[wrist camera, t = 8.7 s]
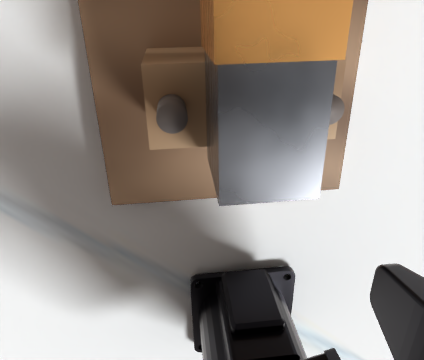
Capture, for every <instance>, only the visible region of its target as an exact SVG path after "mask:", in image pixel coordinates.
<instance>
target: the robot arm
mask: <svg viewBox="0 0 424 360" xmlns="http://www.w3.org/2000/svg"><path fill="white" fill-rule="evenodd" d="M285 274H288V275H287V276H284V275H285ZM197 282H201V283H200V284H196V283H197ZM294 283H295V273H294V271H293V269H292V268H291V267H275V268H264V269H253V270H242V271H230V272H219V273H208V274H198V275H194V276H193V277H192V278H191V280H190V285H191V301H192V318H193V334H194V348H195V350H196V351H197V352H202V355H203V360H341V359H340V357H339V355H338V354H337V352H336V350H335V348H332V349H329V350H326V351H324V353H323V354H320V355H316V356H313V357H310V358H307V356H306V354H305V351H304V349H303V346H302V343H301V341H300V338H299V336H298V333H297V330H296V328H295V325H294V323H293V320H292V317H291V310H292V301H293V292H294ZM370 302H371V305H372V308H373V310H374V313H375V315H376V317H377V320H378V322H379V325H380V327H381V329H382V332H383V334H384V336H385V339H386V341H387V344H388V346H389V348H390V351H391V353H392V355H393V358H394V360H424V277H422V276H420V275H418V274H416V273H415V272H413V271H411V270H409V269H407V268H405V267H404V266H402V265H400V264H385V265H380V266H378V267H377V268H376V271H375V275H374V279H373V283H372V288H371V292H370Z"/></svg>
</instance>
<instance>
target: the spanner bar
mask: <svg viewBox="0 0 424 360" xmlns="http://www.w3.org/2000/svg"><path fill="white" fill-rule="evenodd" d="M352 7H353V0H200V18H201V46H202V47H203V49H204V50H205V85H206V122H207V158H208V162H209V166H210V170H211V174H212V178H213V182H214V186H215V191H216V195H217V199H218V203H219V206H226V205H240V204H254V203H267V202H281V201H294V200H308V199H319V198H320V191H321V183H322V175H323V168H324V160H325V152H326V145H327V137H328V129H329V122H330V114H331V106H332V99H333V91H334V83H335V76H336V68H337V60H345V57H346V50H347V43H348V35H349V28H350V21H351V14H352Z"/></svg>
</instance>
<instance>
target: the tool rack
mask: <svg viewBox="0 0 424 360" xmlns="http://www.w3.org/2000/svg"><path fill="white" fill-rule="evenodd" d="M78 4H79V10H80V16H81V22H82V28H83V34H84V40H85V46H86V52H87V58H88V64H89V70H90V76H91V82H92V88H93V94H94V100H95V106H96V112H97V118H98V124H99V130H100V136H101V142H102V148H103V154H104V160H105V166H106V172H107V178H108V184H109V190H110V196H111V202H112V205H122V204H136V203H150V202H164V201H178V200H192V199H206V198H217V195H216V191H215V186H214V182H213V178H212V174H211V170H210V166H209V162H208V158H207V122H206V85H205V50H204V49H203V47H202V46H201V18H200V0H78ZM367 4H368V0H353V7H352V14H351V21H350V28H349V35H348V43H347V50H346V57H345V60H337V68H336V76H335V83H334V91H333V99H332V106H331V114H330V122H329V129H328V137H327V145H326V152H325V160H324V168H323V175H322V183H321V190H331V189H339V184H340V178H341V171H342V165H343V159H344V152H345V146H346V139H347V133H348V126H349V120H350V114H351V107H352V101H353V94H354V88H355V81H356V75H357V69H358V62H359V56H360V49H361V43H362V37H363V30H364V24H365V17H366V11H367Z"/></svg>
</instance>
